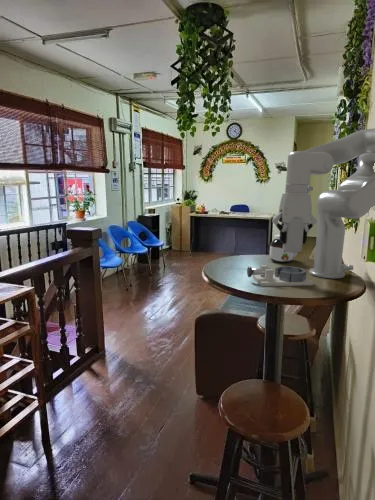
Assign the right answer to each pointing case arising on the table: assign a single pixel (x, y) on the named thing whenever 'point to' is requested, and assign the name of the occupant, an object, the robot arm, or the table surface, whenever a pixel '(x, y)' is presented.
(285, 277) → the socket
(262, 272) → the lock pin
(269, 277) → the dock board
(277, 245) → the spread jar
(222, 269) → the table surface
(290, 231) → the beverage can
